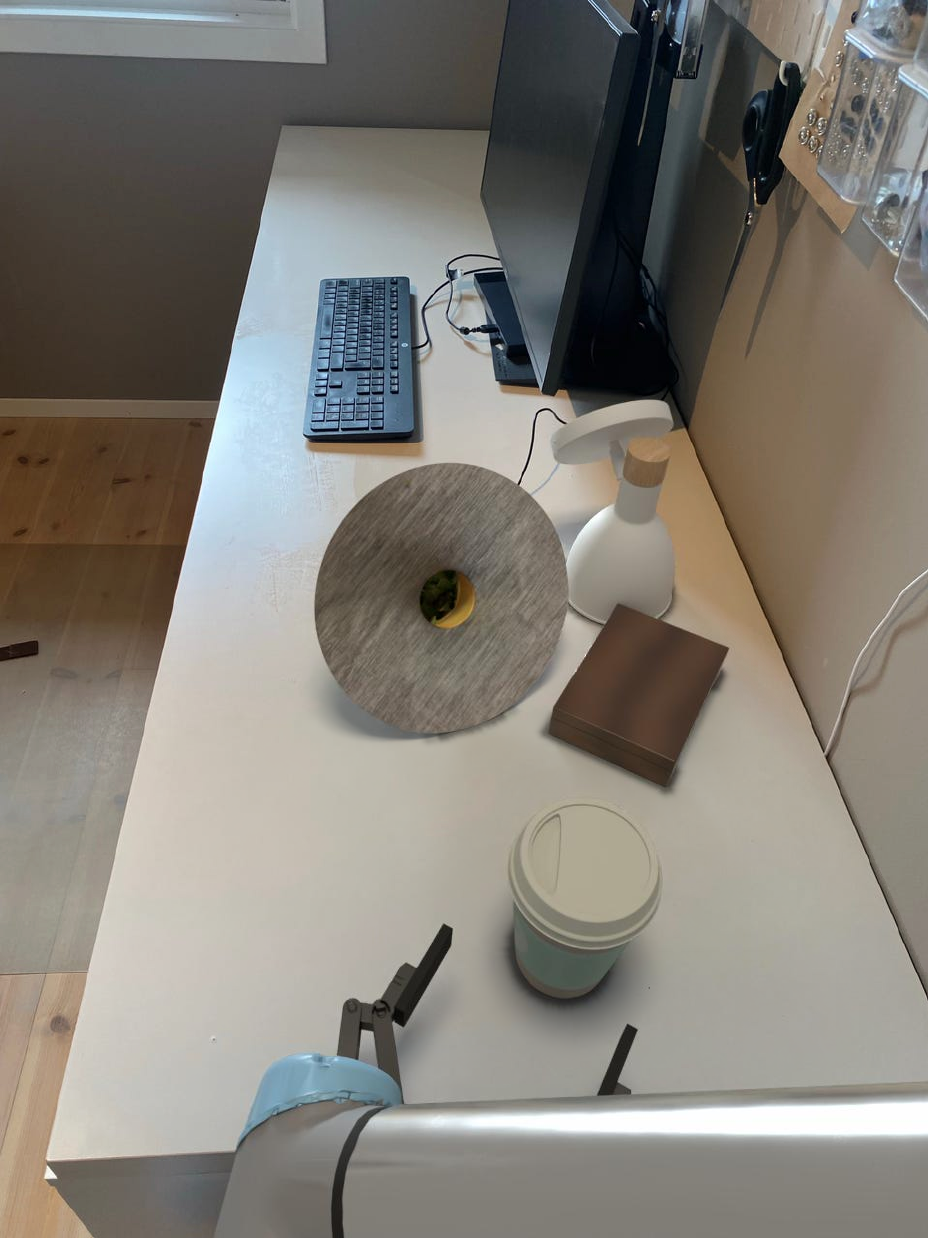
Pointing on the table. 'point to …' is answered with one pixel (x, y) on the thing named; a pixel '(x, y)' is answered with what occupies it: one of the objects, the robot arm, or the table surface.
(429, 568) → the grey round piece
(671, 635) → the wooden trinket box
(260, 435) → the table surface
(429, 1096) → the table surface
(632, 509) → the light fixture
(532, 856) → the coffee cup
